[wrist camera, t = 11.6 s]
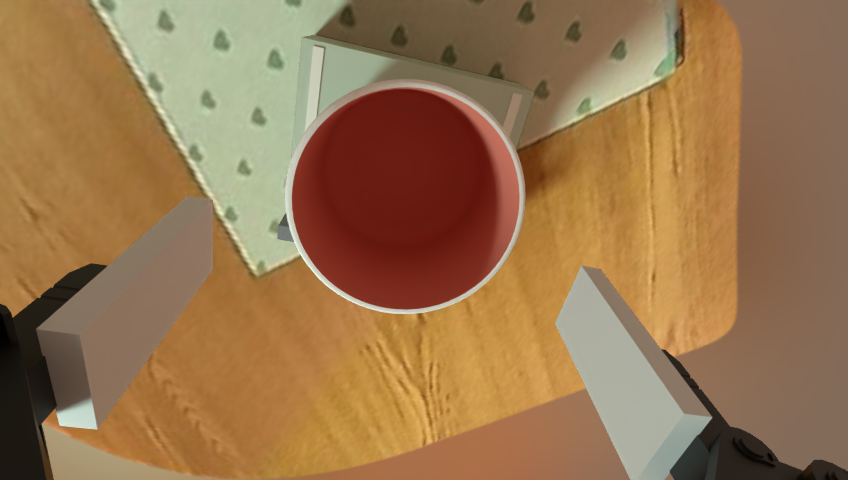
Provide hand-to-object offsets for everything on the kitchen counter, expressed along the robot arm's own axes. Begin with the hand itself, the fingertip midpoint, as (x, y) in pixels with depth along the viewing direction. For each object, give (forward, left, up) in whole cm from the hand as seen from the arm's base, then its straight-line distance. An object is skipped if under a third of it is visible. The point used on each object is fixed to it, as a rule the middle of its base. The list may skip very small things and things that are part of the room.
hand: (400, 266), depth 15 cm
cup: (+1, 0, -13) cm, 13 cm away
